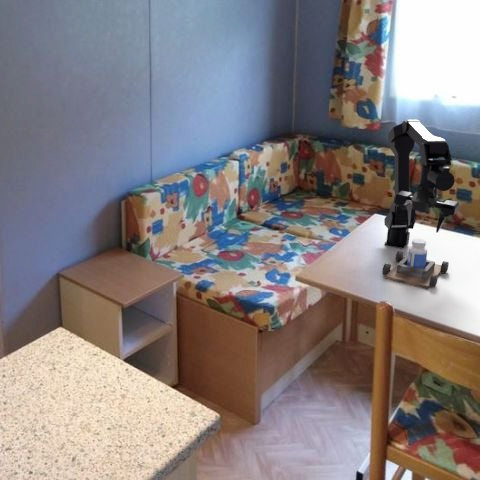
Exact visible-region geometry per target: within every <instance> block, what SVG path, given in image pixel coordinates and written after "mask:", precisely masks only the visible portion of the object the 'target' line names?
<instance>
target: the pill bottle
mask: <svg viewBox="0 0 480 480" xmlns="http://www.w3.org/2000/svg"><path fill="white" fill-rule="evenodd" d="M411 241H412V242H411V246H409V248H408V254H407V256H408V262H407V266H411V267H416V268H420V269H425V265H426V260H427V257H428V256H427V255H428V249H427V248H426V245H427V241H426V240H424V239H421V238H414V239H412V240H411Z"/></svg>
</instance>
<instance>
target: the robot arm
mask: <svg viewBox="0 0 480 480" xmlns="http://www.w3.org/2000/svg"><path fill="white" fill-rule="evenodd" d="M387 141H388V143H389V145H388V146H389V149H390V150H391V152H392V153H393V156H394V197H393V201H392V203H391V205H390V207H389V212H388V213H387V215H386V216H385V217H384V220H383V221H384V226H385V227H386V228H387V232H386V233H387V234H386V241H385V242H384V245H386V246H391V247H395V248H400V249H404V248H406V246H407V245H408V244H409V243H410V234H411V233H410V231H409V230H410V229H411V230H412V229H413V230H414V226H415V224H416V221H417V213H416V211H417V210H418V211H421V212H427V211H428V210H429V209H430V208H431V209H435V208H437V209H439V210H440V211H441V212H440V213H439V214H438V215H439V217H438V222H437V225H436V231H435V233H439V231H440V230H441V228H442V227H443V226H442V225H443V224H444V223H445V221H446V219H447V218H449V217H451V216H455V215H456V214H458V212H459V211H460V206H461V205H460V203H459V202H458V201H456V200H455V201H454V200H451V199H446V200H445V201H444V202H443V201H438V198H439V195H438V193H439V191H440V192H446V191H449V190H450V189H452V187H453V186H454V184H455V181H456V180H455V176H454V174H453V173H451V168H450V166H451V165H452V155H451V151H450V147H449V144H448V142H447V140H446V139H445V138H442V137H440V136H435V135H433V134H432V133H431V132H429V131H428V129H427V128H426V127H425V126H424V125H423V124H422V121H420V120H418V119H405V120H403V121H402V123H400V124H398V125H397V124H396V125H395V126H393V127H391V129H390V131H389V132H388V134H387ZM415 143H416V144H417V146H418V147H419V148H418V153H419V154H420V158H421V159H419V160H420V163H421V167H420V176H419V182H418V185H417V189H416V190H415V192H414V194H413V192H411V191H410V190H411V189H410V188H411V187H410V156H411V155H410V154H411V153H412V151H413V150H414V148H415Z"/></svg>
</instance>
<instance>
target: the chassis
mask: <svg viewBox="0 0 480 480" xmlns="http://www.w3.org/2000/svg"><path fill="white" fill-rule="evenodd" d="M394 261H395V263H396V264H395V265H394V266H393V268H391V267H392V266H391V264H390V263H387V262H385V263H384V264H383V266H382V270H381V274H382V276H384V280H387V281H391V282H396V283H400V284H404V285H408V286H413V287H414V288H415V287H416V288H420V289H424V290H428V289H429V288H430V287H432V288H436V286H437V283H438V279H439V276H440V275H441V273H442V274H447V273H448V268H449V264H450V263H449V261H442V262H441V264H438V263H436V261H434V260H430V259H429V260H428V259H426V265H425V269H420V268H416V267H411V266H407V262H408V255H406V256H404V251H400V250H397V252H396V254H395V258H394Z"/></svg>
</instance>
